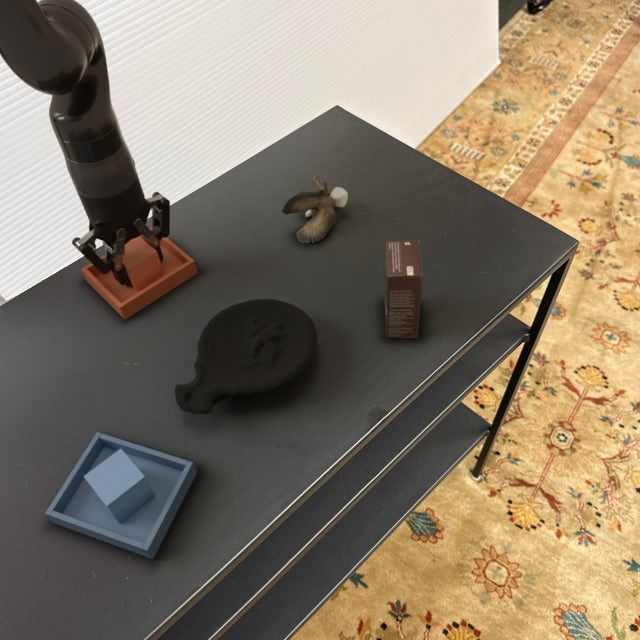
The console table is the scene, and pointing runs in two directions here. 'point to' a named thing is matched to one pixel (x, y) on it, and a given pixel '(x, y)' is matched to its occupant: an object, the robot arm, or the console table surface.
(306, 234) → the eagle figurine
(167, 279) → the terracotta tray
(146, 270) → the terracotta block
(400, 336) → the box
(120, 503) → the blue block
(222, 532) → the console table surface
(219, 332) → the oil lamp
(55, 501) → the blue tray
